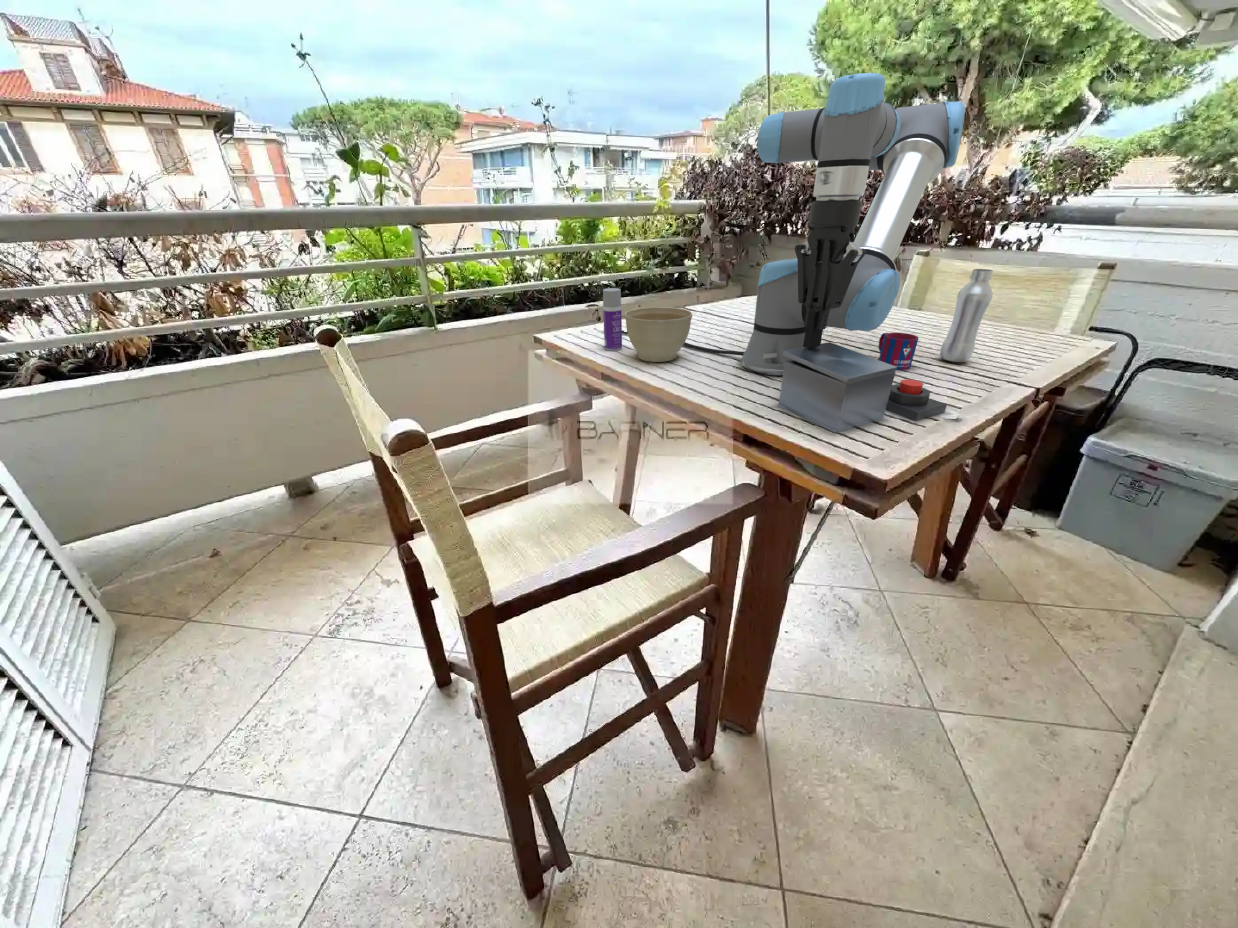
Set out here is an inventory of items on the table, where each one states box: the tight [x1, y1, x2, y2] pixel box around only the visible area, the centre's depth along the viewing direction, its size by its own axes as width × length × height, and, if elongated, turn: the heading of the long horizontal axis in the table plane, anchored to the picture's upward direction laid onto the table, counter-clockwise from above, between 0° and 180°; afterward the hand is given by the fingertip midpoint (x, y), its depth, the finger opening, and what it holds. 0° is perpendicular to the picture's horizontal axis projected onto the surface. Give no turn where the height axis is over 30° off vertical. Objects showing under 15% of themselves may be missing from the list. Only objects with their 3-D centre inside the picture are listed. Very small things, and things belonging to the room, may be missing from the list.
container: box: [602, 287, 623, 352], centre depth 125 cm, size 5×5×15 cm
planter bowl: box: [624, 306, 693, 363], centre depth 118 cm, size 16×16×11 cm
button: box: [898, 378, 924, 394], centre depth 87 cm, size 4×4×2 cm
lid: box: [783, 341, 897, 383], centre depth 84 cm, size 14×12×1 cm
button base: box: [885, 383, 948, 422], centre depth 89 cm, size 10×8×4 cm
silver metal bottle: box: [939, 268, 994, 363], centre depth 108 cm, size 6×7×20 cm
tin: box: [777, 360, 896, 434], centre depth 86 cm, size 14×12×9 cm
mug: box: [878, 332, 919, 371], centre depth 111 cm, size 7×10×7 cm
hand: (811, 346), depth 88 cm, fingers closed
